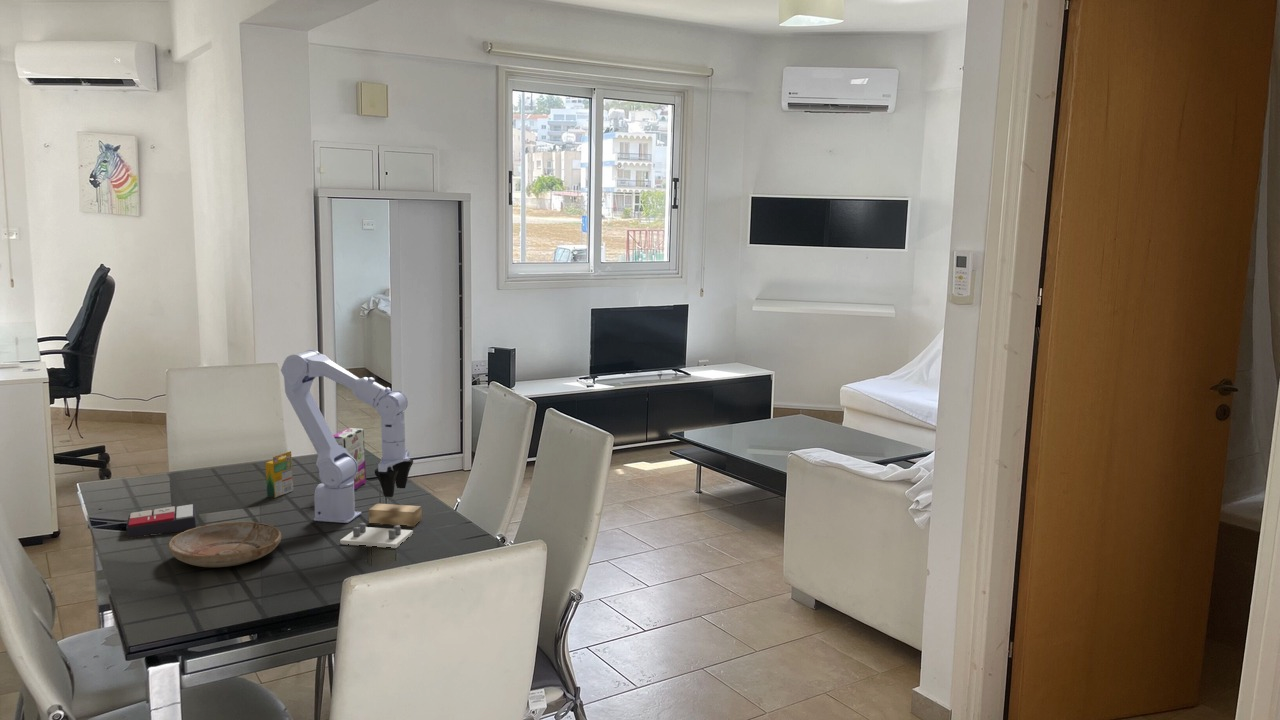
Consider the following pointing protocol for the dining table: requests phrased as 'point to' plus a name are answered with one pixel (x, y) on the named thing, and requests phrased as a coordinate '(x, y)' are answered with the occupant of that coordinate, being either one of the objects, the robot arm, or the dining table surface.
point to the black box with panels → (161, 521)
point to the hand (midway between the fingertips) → (395, 492)
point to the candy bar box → (354, 451)
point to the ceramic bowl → (225, 544)
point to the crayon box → (279, 475)
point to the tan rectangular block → (395, 514)
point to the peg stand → (376, 536)
